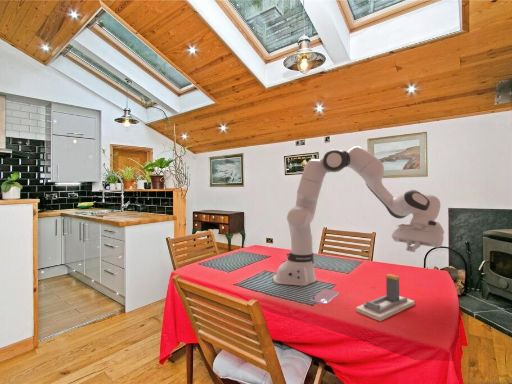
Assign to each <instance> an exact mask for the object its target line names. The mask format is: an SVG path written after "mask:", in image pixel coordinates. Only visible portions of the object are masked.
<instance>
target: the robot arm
mask: <svg viewBox="0 0 512 384" xmlns="http://www.w3.org/2000/svg"><path fill="white" fill-rule="evenodd" d="M344 168H350V169H352V170H353V171H354V172H356V174H358V175H359V176H360V177H361V178H362V179H363V181H364V182H365V184H366V186H367V188H368V189H369V191H370V192H371V193H372V195H374V196H375V197H376V198H377V199H378V200H379V201H380V203H382V205H384V207H385V208H386V211H387V212H388V213H389V214H390V216H392V217H393V218H396V219H399V220H400V219H405V218H406V217H407V216H409V215H412V218H411V219H410V223H409V224H405V223H401V224H398V225H397V226H396V228H395V229H394V231H393V232H392V234H391V238H392V240H393V241H394V242H398V243H404V244H406V248H405V249H406V251H407V252H412V253H415V252H416V250H417V249H418V248H421V246H426V247H433V248H440V247H442V246H443V243H444V239H445V238H444V234H445V231H444V228H443V227H442V225H441V223H439V222H438V221H436V220H437V219H438V216H439V213H440V209H441V201H440V199H439V198H438V197H437V196H435V195H432V194H424V193H421V192H420V191H417V190H415V189H408V190H407V191H404V192H403V193H401V194H400V195H398V196H397V197H395V196H393V194H392V193H391V192H390V190H388V189H387V188H386V187H385V186H384V184H383V176H384V173H385V166H384V163H382V161H381V160H380V159H379V158H377V157H376V156H374V154H373V153H371V152H369V151H368V150H367V149H365V148H363V147H361V146H359V145H354V146H352V147H350V148H349V149H347V150H343V149H342V150H341V149H336V148H335V149H330V150H328V151H326V152H325V154H324V155H323V157H322V158H321V159H318V158H313V159H309V160H307V163H306V164H305V167H304V169H303V171H302V173H301V174H302V175H301V178H300V181H299V184H298V187H297V191H296V193H297V195H296V202H295V206H293V207H292V208H290V209H289V211H288V213H287V217H286V220H287V223H288V227H289V228H288V229H289V233H290V242H291V244H290V245H291V248H290V249H291V252H290V251H287V252H286V256H287V260H285V261H284V262H283V263H281V264H280V265H279V267H278V268H277V271H276V273H275V274H273V278H272V281H273V282H274V284H276V285H278V284H279V285H287V286H289V285H291V286H293V285H294V286H302V287H303V286H305V287H307V286H308V285H310V284H313V283H315V282H316V281H317V277H316V274H315V273H316V272H315V268H314V264H315V255H314V252H313V251H314V250H313V249H314V248H313V245H314V243H313V236H312V235H313V234H312V230H311V229H312V228H311V223H312V222H313V221H314V217H315V214H316V210H317V205H318V200H319V196H320V192H321V189H322V185H323V181H324V178H325V177H326V174H327V173H338V172H339V173H340V172H341V171H342V170H344ZM412 244H413V246H412Z"/></svg>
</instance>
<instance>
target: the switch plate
mask: <svg viewBox="0 0 512 384" xmlns="http://www.w3.org/2000/svg"><path fill="white" fill-rule="evenodd" d="M415 303H416V301H415V300H413V299H410V298H408V297H406V296H405V297H404V296H401V295H399V300H398V301H395V302H394V301H391V300H388V299H387V294H385V295H383V296H380V297H378V298H375V299H372V300H368V301H366V302H365V303H362V304H361V305H358V306H356V307H355V312H357V313H359V314H362V315H364V316H366V317H369V318H371V319H373V320H376V321H378V322H382V321H383V320H386V319H388V318H389V317H391V316H394V315H396V314H398V313H400V312H402V311H404V310H406V309H408V308H410V307H412V306H415Z"/></svg>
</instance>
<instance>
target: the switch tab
mask: <svg viewBox="0 0 512 384" xmlns="http://www.w3.org/2000/svg"><path fill="white" fill-rule="evenodd" d="M400 277H401V276H399V275H396V274H393V273H388V274H385V278H386V281H385V283H386V295H387V299H388V300H391V301H394V302H395V301H398V300H399V296H400Z"/></svg>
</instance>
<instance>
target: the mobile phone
mask: <svg viewBox="0 0 512 384" xmlns="http://www.w3.org/2000/svg"><path fill="white" fill-rule="evenodd" d="M339 294H340V293H339V291H337V290H332V289H326V288H324V289H322V290H321V291H319V292H318V293H317V294H315V295H314V296H312V297H311V298H310V301H312V302H316V303H320V304H324V305H327V304H328V303H330V302H331V301H333V299H334V298H336V297H337V296H338V295H339Z"/></svg>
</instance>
